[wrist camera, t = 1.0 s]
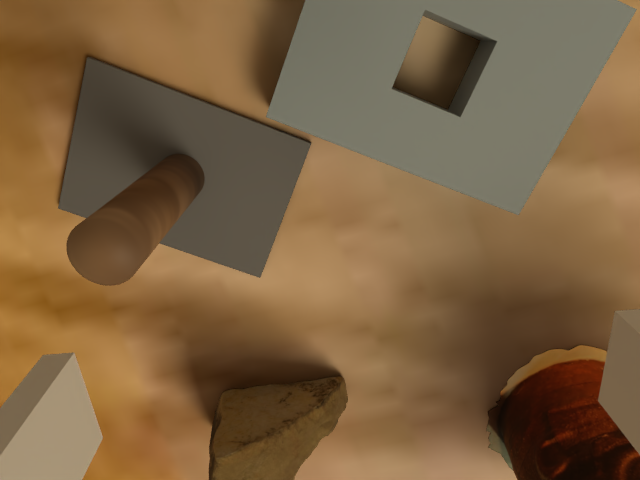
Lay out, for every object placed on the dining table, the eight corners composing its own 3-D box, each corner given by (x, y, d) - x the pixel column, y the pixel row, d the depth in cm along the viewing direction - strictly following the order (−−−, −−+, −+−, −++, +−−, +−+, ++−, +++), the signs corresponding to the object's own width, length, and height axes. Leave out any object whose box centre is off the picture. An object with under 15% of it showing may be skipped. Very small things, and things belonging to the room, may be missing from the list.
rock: (371, 366, 35) (229, 346, 33) (370, 503, 30) (208, 491, 28) (326, 396, 44) (213, 382, 42) (321, 505, 40) (195, 496, 37)
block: (271, 109, 30) (265, 116, 27) (345, -109, 26) (347, -126, 23) (501, 200, 32) (518, 215, 30) (605, 12, 28) (636, 9, 25)
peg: (152, 189, 32) (60, 271, 21) (163, 146, 31) (73, 208, 20) (197, 205, 32) (130, 294, 21) (210, 163, 31) (147, 234, 20)
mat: (61, 206, 33) (58, 208, 32) (90, 56, 29) (87, 57, 29) (260, 275, 35) (260, 277, 34) (311, 142, 31) (311, 143, 31)
